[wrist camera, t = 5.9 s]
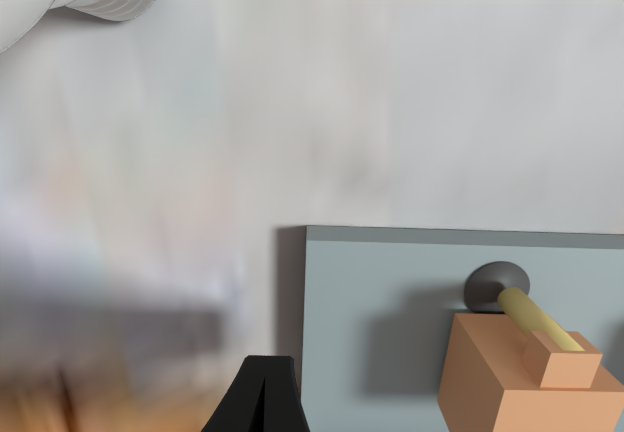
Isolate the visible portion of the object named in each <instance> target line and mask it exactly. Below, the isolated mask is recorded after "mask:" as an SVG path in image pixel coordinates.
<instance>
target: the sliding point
mask: <svg viewBox="0 0 624 432" xmlns="http://www.w3.org/2000/svg"><path fill="white" fill-rule="evenodd" d="M497 303H498V305H499V307H500V308H501V309H502V310H503V311H504V312H505V314H467V313H455V314H454V319H453V324H452V329H451V334H450V339H449V344H448V349H447V354H446V359H445V363H444V368H443V373H442V378H441V383H440V388H439V393H438V398H437V403H438V405H439V408H440V410H441V413H442V415H443V418H444V420H445V422H446V425H447V427H448V430H449V432H613V431H614V428H615V426H616V424H617V421H618V419H619V417H620V415H621V412H622V410H623V408H624V386H623V385H622V384H621V383H620V382H619V381H618V380H617V379H616V378H615V377H614V376H613V375H612V374H610V373H609V372H608V371H607V370H606V369H605V368H604V367H603V366H602V365H601V364H600V360H601V358H602V355H603V354H602V353H601V352H600V351H599V350H598V349H597V348H596V347H594V346H593V345H592V344H591V343H590V342H589V341H588V340H587V339H586V338H585V337H583V336H582V335H581V334H580V333H579V332H576V331H565V330H564V329H563V328H562V327H561V326H560V325H559V324H558V323H557V322H556V321H555V320H553V319H552V318H551V317H550V316H549V315H547V314H546V313H545V312H544V311H543V310H542V309H541V308H540V307H539V306H538V305H537V304H536V303H534V302H533V301H532V300H531V299H530V298H529V297H528V296H527V295H526V294H525V293H524V292H523V291H522V290H521V289H519V288H517V287H510V288H507V289H505V290H503V291H502V292H501V293H500V294H499V296H498V298H497Z"/></svg>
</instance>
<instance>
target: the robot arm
mask: <svg viewBox="0 0 624 432" xmlns="http://www.w3.org/2000/svg"><path fill="white" fill-rule="evenodd" d="M201 432H310V429H309V426H308V423H307V420H306V417H305V414H304V410H303V407H302V404H301V400H300V397H299V393H298V388H297V384H296V379H295V373H294V359H293V358H292V357H290V356H258V355H248V356H247V357H246V358H245V359H244V361H243V363H242V365H241V367H240V369H239V371H238V373H237V375H236V377H235V379H234V381H233V382H232V384H231V386H230V388H229V389H228V391H227V393H226V394H225V396H224V397H223V399H222V401H221V402H220V404H219V405H218V407H217V408H216V410H215V412H214V413H213V415H212V416H211V418H210V419H209V421H208V422H207V423H206V425H205V426H204V428H203V429H202V430H201Z"/></svg>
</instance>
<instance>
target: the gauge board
mask: <svg viewBox="0 0 624 432" xmlns="http://www.w3.org/2000/svg"><path fill="white" fill-rule="evenodd" d="M510 287H517V288H519V289H521V290H522V291H523V292H524V293H525V294H526V295H527V296H528V297H529V298H530V299H531V300H532V301H533V302H534V303H536V304H537V305H538V306H539V307H540V308H541V309H542V310H543V311H544V312H545V313H546V314H547V315H549V316H550V317H551V318H552V319H553V320H555V321H556V322H557V323H558V324H559V325H560V326H561V327H562V328H563V329H564V330H565V331H576V332H579V333H580V334H581V335H582V336H583V337H585V338H586V339H587V340H588V341H589V342H590V343H591V344H592V345H593V346H594V347H596V348H597V349H598V350H599V351H600V352H601V353H602V354H603V355H602V358H601V360H600V364H601V365H602V366H603V367H604V368H605V369H606V370H607V371H608V372H609V373H610V374H612V375H613V376H614V377H615V378H616V379H617V380H618V381H619V382H620V383H621V384H622V385H623V386H624V235H607V234H573V233H540V232H506V231H472V230H439V229H405V228H372V227H338V226H307V233H306V262H305V291H304V320H303V350H302V379H301V404H302V407H303V410H304V414H305V417H306V420H307V423H308V426H309V429H310V432H449V430H448V427H447V425H446V422H445V420H444V418H443V415H442V413H441V410H440V408H439V405H438V403H437V398H438V393H439V388H440V383H441V378H442V373H443V368H444V363H445V359H446V354H447V349H448V344H449V339H450V334H451V329H452V324H453V319H454V314H455V313H467V314H505V312H504V311H503V310H502V309H501V308H500V307H499V305H498V303H497V298H498V296H499V294H500V293H501V292H502V291H503V290H505V289H507V288H510ZM613 432H624V408H623V410H622V412H621V415H620V417H619V419H618V421H617V424H616V426H615V428H614V431H613Z"/></svg>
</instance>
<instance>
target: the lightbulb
mask: <svg viewBox="0 0 624 432" xmlns="http://www.w3.org/2000/svg"><path fill="white" fill-rule="evenodd" d="M154 1H155V0H0V54H1V53H2V52H4V51H5V50H6V49H8V48H9V47H10V46H12V45H13V44H14V43H15V42H17V41H18V40H19V39H20V38H21V37H22V36H23V35H25V34H26V33H27V32H28V31H29V30H30V29H31V28H32V27H33V26H34V25H35V24H36V23H37V22H38V21H39V20H40V19H41V17H42V16H43V15H44V14H45V13H46V12H47V10H48V9H53V8H58V7H61V6H67V7H70V8H73V9H76V10H79V11H82V12H85V13H88V14H91V15H94V16H97V17H100V18H103V19H107V20H113V21H124V20H129V19H132V18H135V17H137V16H139V15H141V14H142V13H144V12H145V11H146V10H147V9H148V8H150V6H151V5H152V4H153V3H154Z"/></svg>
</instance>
